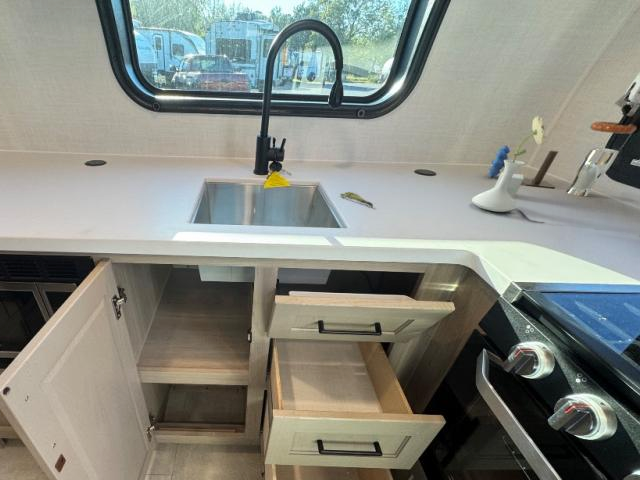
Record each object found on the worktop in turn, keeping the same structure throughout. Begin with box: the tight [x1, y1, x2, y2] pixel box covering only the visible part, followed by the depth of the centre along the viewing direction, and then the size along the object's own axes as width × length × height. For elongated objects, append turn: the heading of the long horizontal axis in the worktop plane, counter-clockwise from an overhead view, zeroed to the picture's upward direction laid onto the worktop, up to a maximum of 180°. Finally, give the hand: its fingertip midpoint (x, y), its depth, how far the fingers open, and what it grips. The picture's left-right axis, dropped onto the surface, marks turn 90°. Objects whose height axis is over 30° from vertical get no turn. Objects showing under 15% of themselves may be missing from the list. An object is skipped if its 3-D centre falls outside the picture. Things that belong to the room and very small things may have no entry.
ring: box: [589, 121, 637, 134], centre depth 92 cm, size 10×10×2 cm
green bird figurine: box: [339, 191, 374, 209], centre depth 101 cm, size 4×13×2 cm, turn 32°
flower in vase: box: [471, 115, 547, 213], centre depth 91 cm, size 13×11×25 cm
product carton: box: [494, 171, 525, 199], centre depth 105 cm, size 6×6×7 cm
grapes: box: [488, 145, 511, 178], centre depth 124 cm, size 12×7×12 cm, turn 134°
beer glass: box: [565, 147, 620, 197], centre depth 106 cm, size 7×7×15 cm
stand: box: [520, 149, 559, 190], centre depth 116 cm, size 9×9×12 cm
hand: (626, 131), depth 92 cm, fingers closed on ring, 2 cm apart
